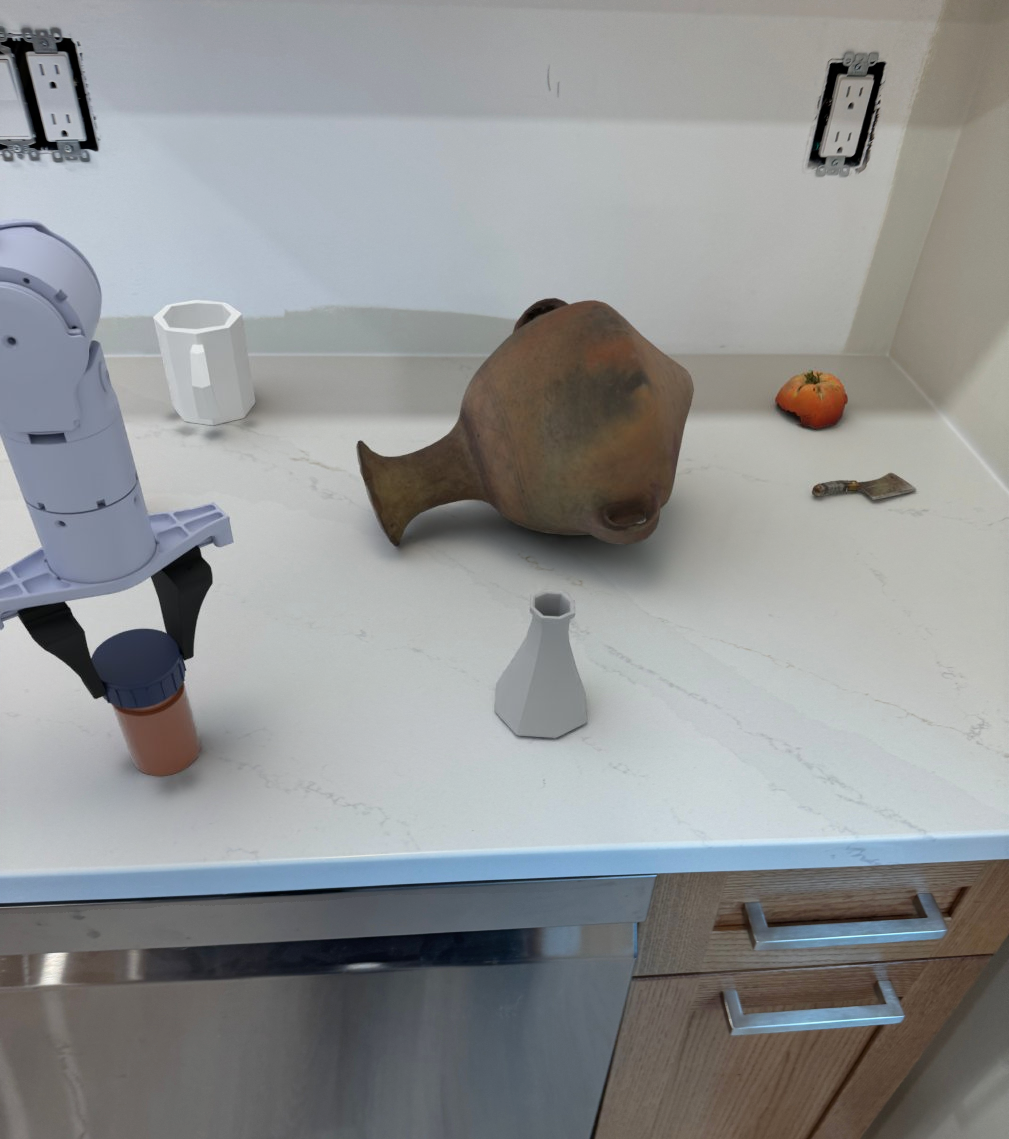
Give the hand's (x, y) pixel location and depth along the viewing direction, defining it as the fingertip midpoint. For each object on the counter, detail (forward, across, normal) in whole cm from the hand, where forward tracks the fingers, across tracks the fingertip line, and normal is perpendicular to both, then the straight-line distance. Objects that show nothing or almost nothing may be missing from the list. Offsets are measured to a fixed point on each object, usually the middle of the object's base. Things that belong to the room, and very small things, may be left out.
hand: (140, 668), depth 57 cm
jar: (+8, 0, 0) cm, 8 cm away
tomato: (+8, -80, -4) cm, 80 cm away
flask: (+8, -24, +12) cm, 28 cm away
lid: (-1, 0, 0) cm, 1 cm away
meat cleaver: (+8, -71, +9) cm, 72 cm away
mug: (+8, -24, -41) cm, 48 cm away
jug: (+8, -38, -7) cm, 40 cm away
